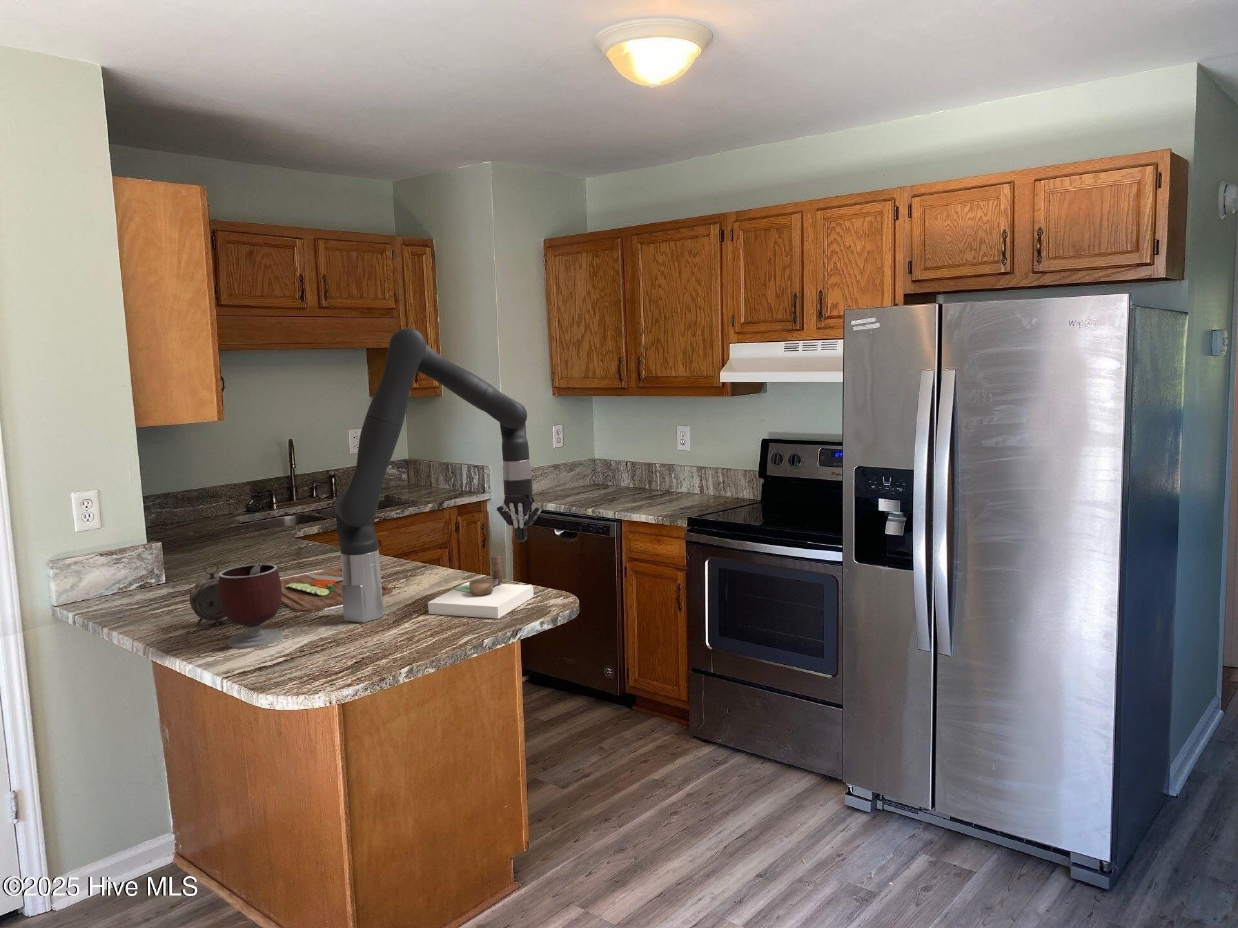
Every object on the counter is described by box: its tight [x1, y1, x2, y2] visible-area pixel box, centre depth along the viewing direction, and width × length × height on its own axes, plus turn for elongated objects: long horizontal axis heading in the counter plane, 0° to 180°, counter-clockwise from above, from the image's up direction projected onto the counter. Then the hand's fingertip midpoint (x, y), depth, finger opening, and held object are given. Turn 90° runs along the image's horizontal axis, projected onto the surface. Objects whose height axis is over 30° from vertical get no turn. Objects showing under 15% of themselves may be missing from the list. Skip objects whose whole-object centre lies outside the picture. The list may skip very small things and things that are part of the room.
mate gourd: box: [218, 563, 284, 649], centre depth 215 cm, size 16×14×20 cm
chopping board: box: [280, 567, 393, 613], centre depth 261 cm, size 45×27×3 cm, turn 38°
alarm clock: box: [189, 561, 227, 627], centre depth 231 cm, size 11×5×16 cm, turn 123°
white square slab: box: [427, 581, 534, 619], centre depth 237 cm, size 20×20×3 cm
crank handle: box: [469, 555, 503, 595], centre depth 240 cm, size 13×6×7 cm, turn 159°
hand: (521, 541), depth 241 cm, fingers closed
